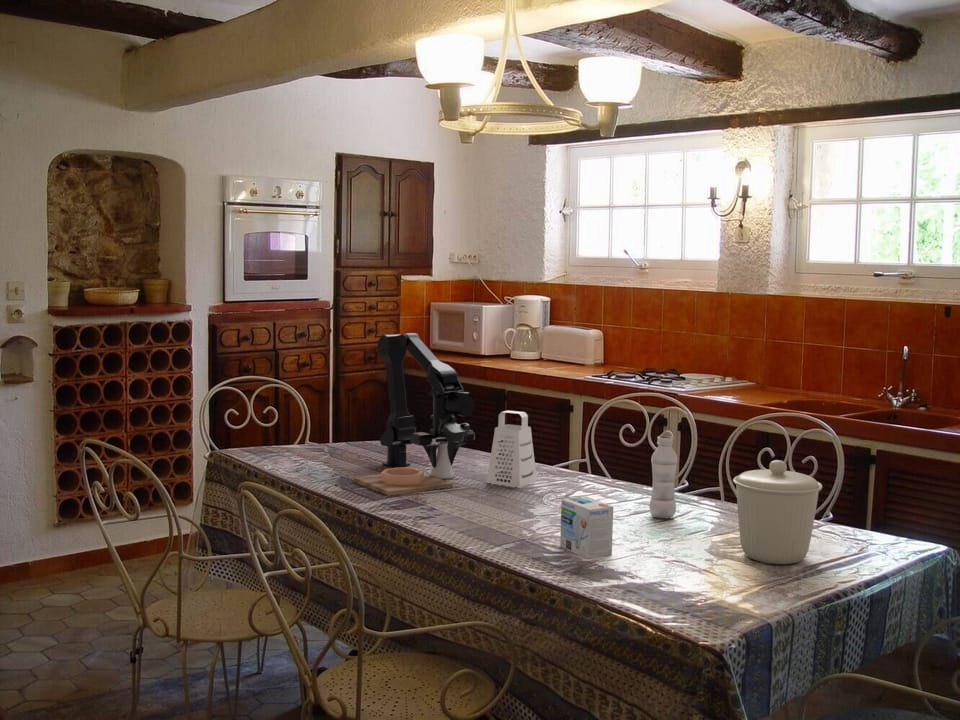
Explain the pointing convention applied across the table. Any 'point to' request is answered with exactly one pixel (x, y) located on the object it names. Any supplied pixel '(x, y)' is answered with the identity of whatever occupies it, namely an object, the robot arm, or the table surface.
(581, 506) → the light bulb box
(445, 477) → the flask
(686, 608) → the table surface
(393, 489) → the board
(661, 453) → the plastic bottle
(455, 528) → the table surface
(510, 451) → the grater
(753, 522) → the canister
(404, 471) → the ring
